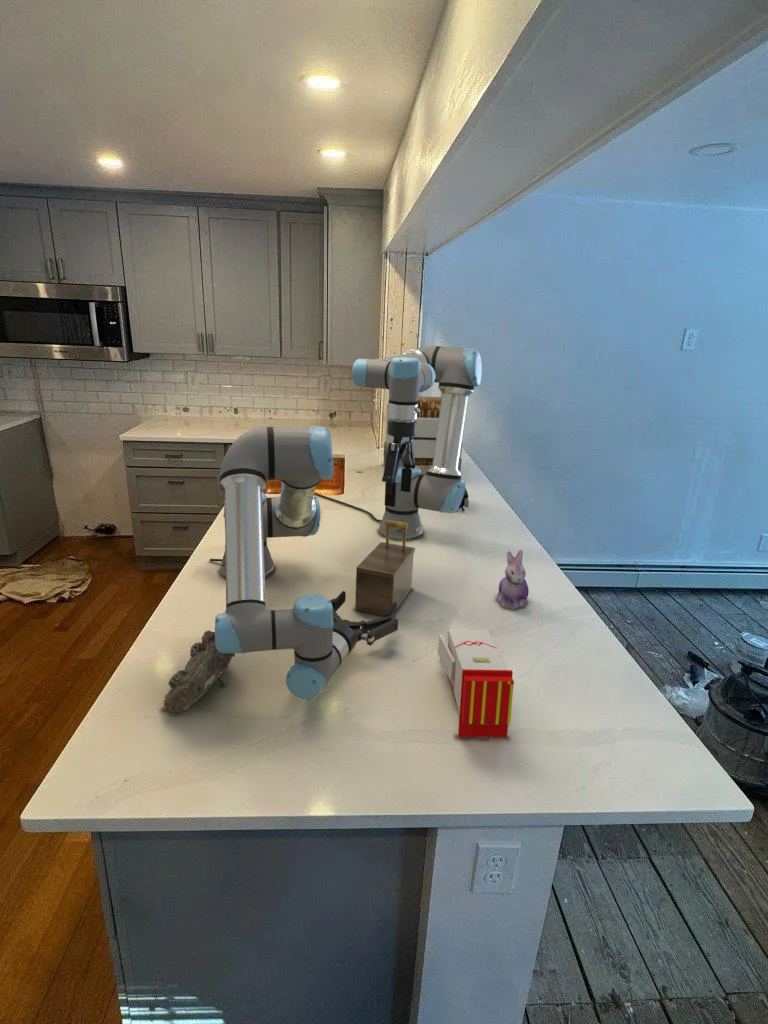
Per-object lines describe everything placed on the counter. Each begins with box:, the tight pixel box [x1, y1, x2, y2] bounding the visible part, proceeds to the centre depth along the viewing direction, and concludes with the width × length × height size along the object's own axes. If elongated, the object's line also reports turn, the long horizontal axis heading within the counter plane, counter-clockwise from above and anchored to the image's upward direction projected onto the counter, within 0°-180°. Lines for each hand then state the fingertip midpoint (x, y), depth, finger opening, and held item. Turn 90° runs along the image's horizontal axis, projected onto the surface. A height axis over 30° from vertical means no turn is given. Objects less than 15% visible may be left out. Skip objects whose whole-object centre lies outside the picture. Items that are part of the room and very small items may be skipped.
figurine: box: [497, 549, 530, 610], centre depth 154 cm, size 9×10×15 cm
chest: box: [354, 552, 415, 617], centre depth 153 cm, size 18×10×11 cm, turn 161°
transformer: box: [383, 391, 465, 474], centre depth 268 cm, size 34×33×41 cm
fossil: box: [163, 630, 236, 713], centre depth 116 cm, size 22×10×15 cm
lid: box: [355, 520, 416, 579], centre depth 150 cm, size 18×10×9 cm, turn 161°
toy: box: [437, 628, 515, 738], centre depth 117 cm, size 12×13×30 cm
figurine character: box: [458, 486, 470, 512], centre depth 229 cm, size 7×8×15 cm
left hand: (369, 601), depth 141 cm, fingers open, 13 cm apart
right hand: (398, 498), depth 153 cm, fingers open, 13 cm apart
